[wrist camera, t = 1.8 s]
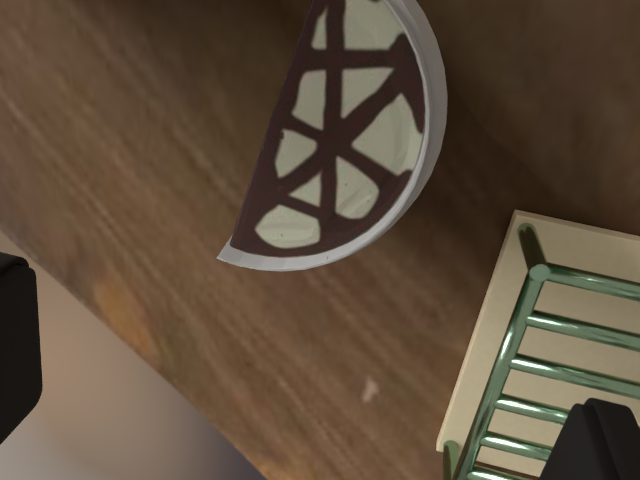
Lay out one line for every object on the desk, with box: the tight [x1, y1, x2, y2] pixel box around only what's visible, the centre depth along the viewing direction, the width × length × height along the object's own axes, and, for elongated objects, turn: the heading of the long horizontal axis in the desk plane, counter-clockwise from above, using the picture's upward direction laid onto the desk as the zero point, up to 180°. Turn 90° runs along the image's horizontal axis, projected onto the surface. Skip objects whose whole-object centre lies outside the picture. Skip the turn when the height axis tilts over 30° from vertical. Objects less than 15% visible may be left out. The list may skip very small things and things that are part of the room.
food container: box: [217, 0, 448, 271], centre depth 24 cm, size 12×6×10 cm, turn 159°
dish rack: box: [436, 210, 640, 480], centre depth 29 cm, size 14×16×9 cm
